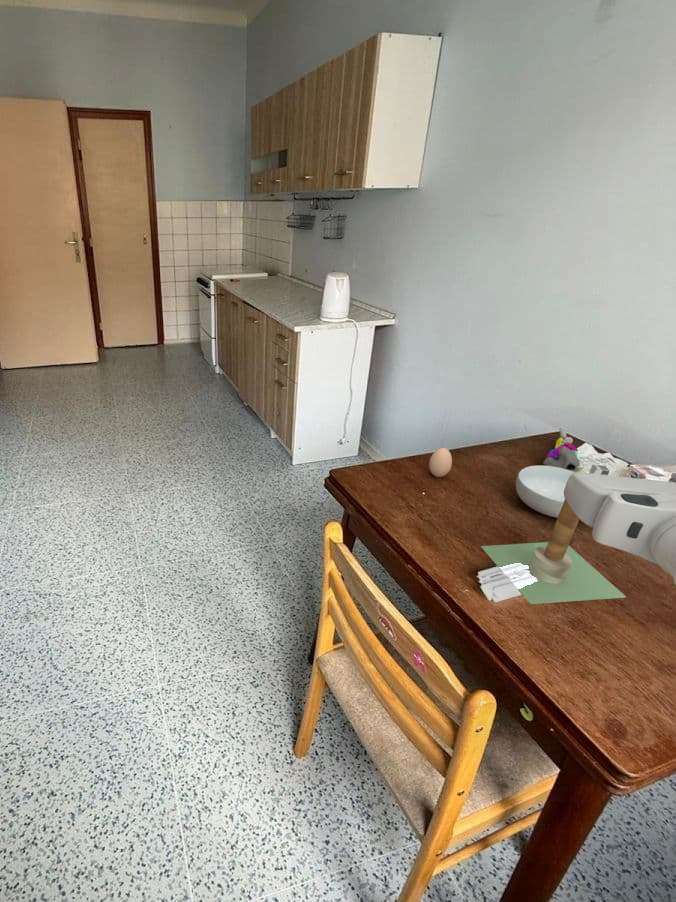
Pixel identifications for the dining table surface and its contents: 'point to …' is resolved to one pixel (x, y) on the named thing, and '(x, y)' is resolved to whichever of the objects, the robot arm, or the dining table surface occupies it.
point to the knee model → (564, 454)
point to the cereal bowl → (543, 488)
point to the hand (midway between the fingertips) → (635, 473)
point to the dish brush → (556, 549)
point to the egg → (440, 462)
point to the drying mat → (576, 586)
